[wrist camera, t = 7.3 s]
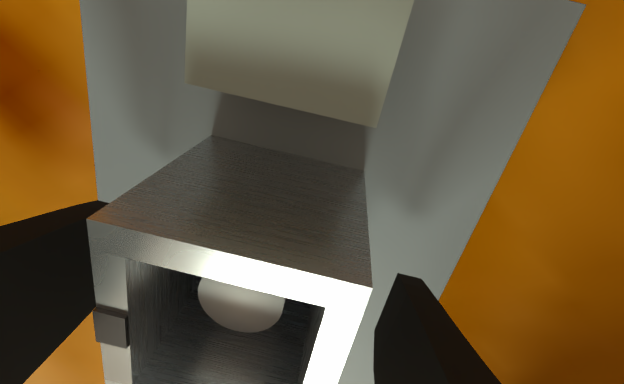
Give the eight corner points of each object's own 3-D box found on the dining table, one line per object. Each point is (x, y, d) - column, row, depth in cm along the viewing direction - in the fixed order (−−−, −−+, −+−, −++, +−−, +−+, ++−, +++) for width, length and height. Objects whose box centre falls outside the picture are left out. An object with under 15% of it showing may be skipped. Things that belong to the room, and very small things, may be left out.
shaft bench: (383, 383, 15) (394, 514, 11) (125, 319, 15) (40, 423, 11) (561, 8, 8) (761, -22, 4) (99, -96, 8) (-136, -220, 4)
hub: (329, 289, 12) (312, 454, 7) (202, 258, 12) (103, 401, 7) (364, 171, 10) (373, 292, 5) (211, 135, 10) (81, 221, 5)
